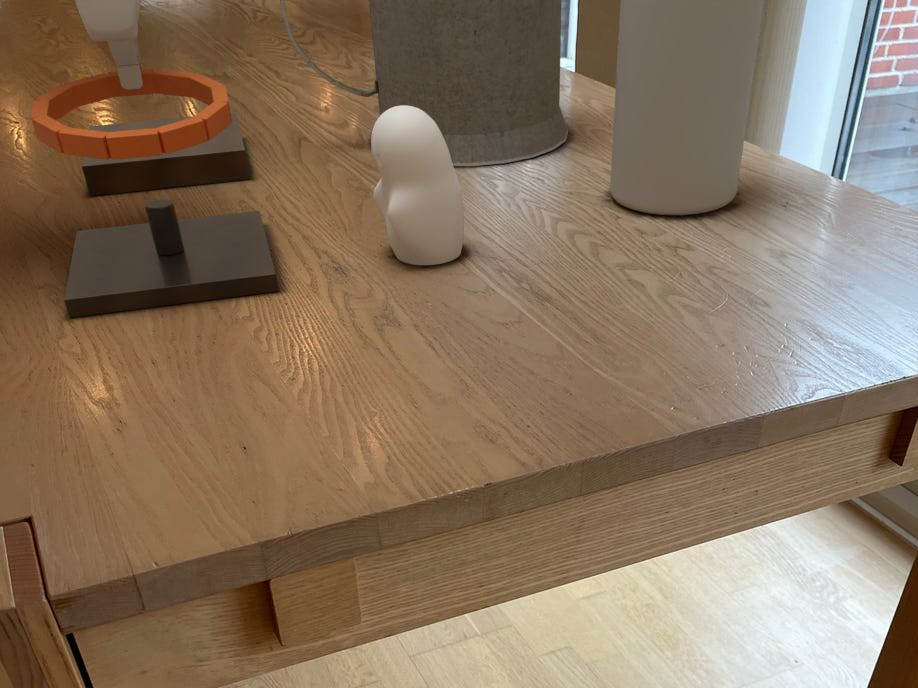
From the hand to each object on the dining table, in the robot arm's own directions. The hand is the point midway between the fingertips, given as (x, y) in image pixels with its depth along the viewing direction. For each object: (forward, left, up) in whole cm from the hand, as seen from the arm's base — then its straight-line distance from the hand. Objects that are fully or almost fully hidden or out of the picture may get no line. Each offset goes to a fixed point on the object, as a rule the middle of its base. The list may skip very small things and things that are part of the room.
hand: (133, 84), depth 82 cm
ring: (0, -7, -1) cm, 7 cm away
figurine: (+22, -11, -13) cm, 28 cm away
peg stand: (0, -7, -13) cm, 15 cm away
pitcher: (+31, +25, -13) cm, 42 cm away
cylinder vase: (+49, -4, -13) cm, 51 cm away
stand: (0, +26, -13) cm, 29 cm away
